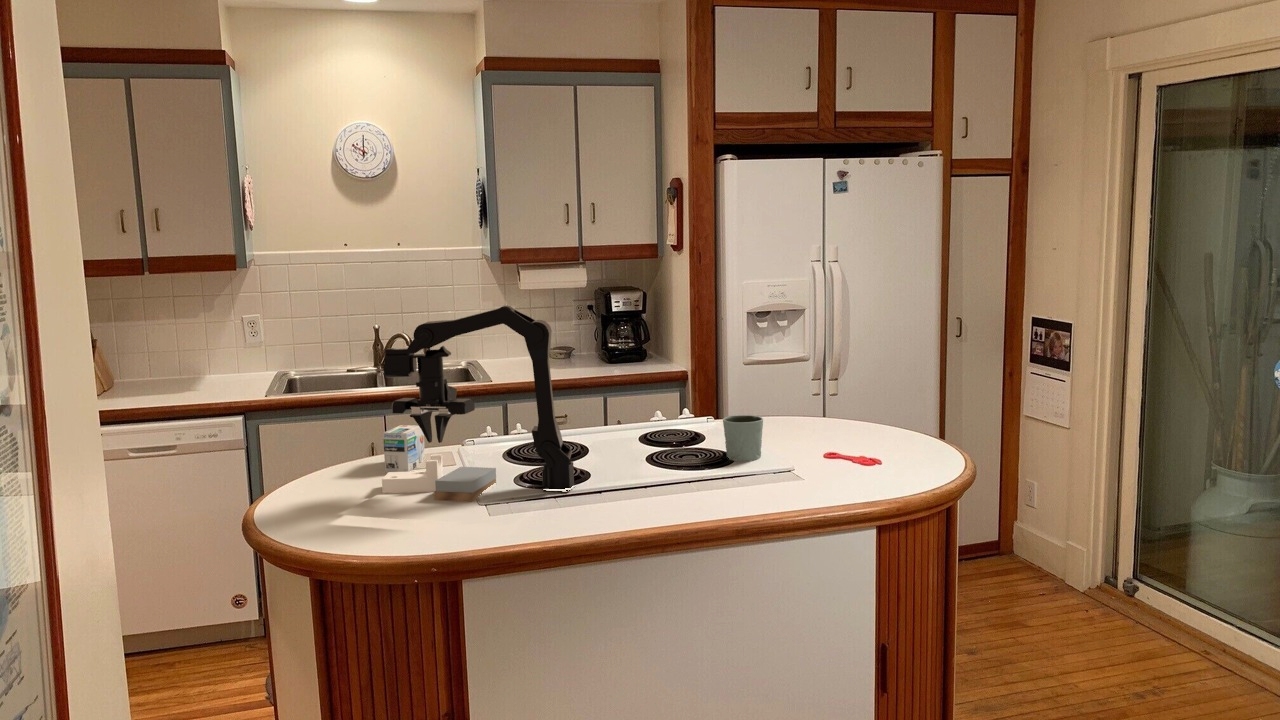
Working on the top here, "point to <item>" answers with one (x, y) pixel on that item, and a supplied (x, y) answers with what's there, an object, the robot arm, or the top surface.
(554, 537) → the top surface
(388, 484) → the bracket
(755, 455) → the green cup
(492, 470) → the slate slab
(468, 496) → the walnut slab
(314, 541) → the top surface
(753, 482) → the top surface
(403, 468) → the light bulb box
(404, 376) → the robot arm
